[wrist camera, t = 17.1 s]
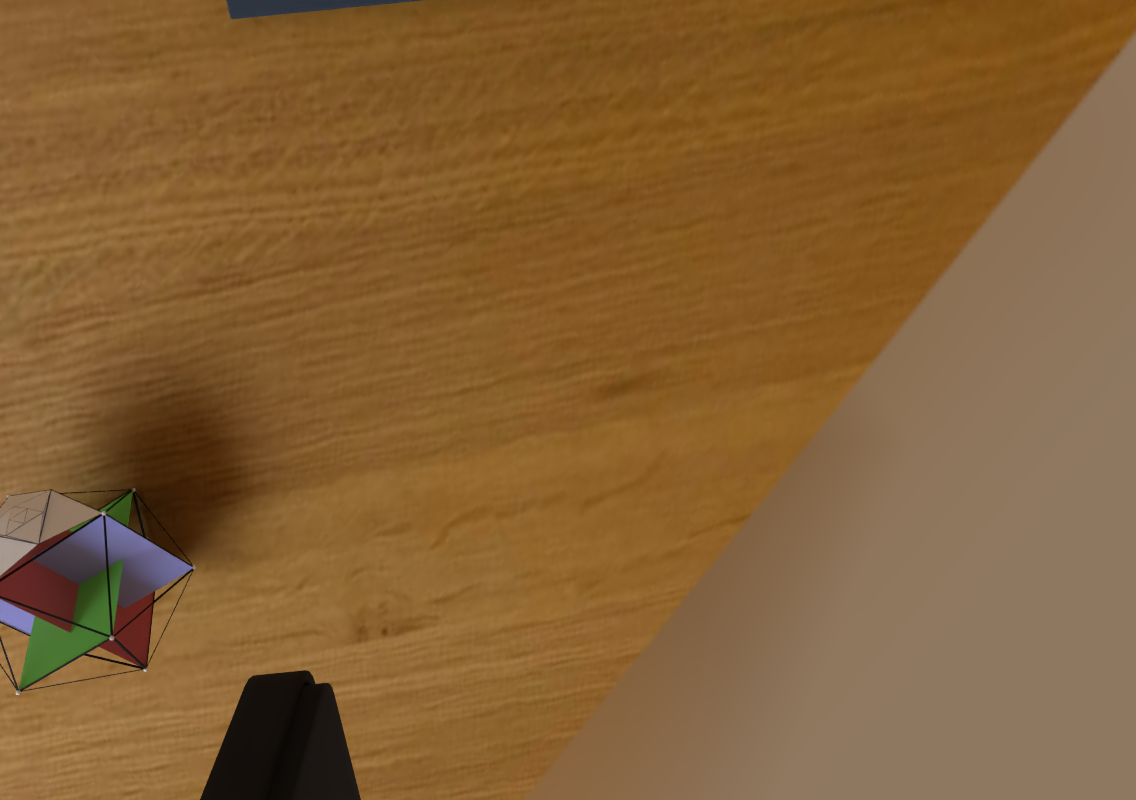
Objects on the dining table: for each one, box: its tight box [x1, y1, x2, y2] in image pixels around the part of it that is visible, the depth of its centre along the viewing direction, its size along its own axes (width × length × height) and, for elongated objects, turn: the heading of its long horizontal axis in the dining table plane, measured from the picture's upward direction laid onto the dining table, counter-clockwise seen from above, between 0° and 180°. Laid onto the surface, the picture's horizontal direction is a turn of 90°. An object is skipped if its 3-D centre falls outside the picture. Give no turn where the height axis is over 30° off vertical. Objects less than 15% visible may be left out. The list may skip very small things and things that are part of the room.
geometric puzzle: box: [0, 488, 196, 695], centre depth 33 cm, size 7×7×8 cm
